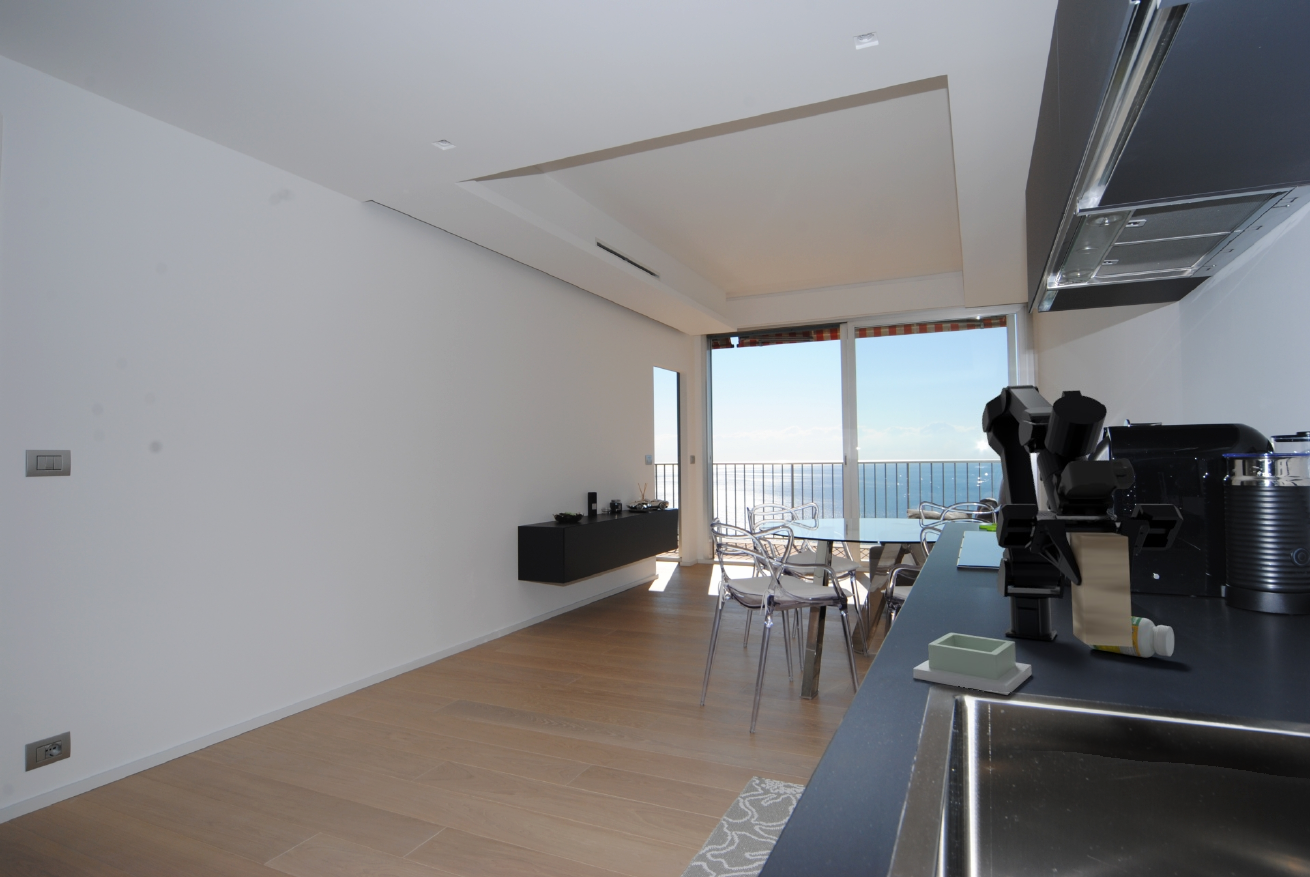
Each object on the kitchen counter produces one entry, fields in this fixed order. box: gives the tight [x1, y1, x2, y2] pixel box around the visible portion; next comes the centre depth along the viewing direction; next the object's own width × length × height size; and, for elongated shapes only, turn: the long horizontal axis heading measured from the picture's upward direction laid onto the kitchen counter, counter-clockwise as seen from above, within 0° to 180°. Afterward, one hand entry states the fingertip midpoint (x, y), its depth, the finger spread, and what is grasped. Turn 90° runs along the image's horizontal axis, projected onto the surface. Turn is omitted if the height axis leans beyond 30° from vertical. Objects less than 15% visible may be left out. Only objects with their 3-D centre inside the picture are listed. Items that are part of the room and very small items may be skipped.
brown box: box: [1069, 533, 1133, 647], centre depth 79 cm, size 4×4×12 cm
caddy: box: [912, 632, 1033, 693], centre depth 88 cm, size 11×11×4 cm
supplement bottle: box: [1088, 615, 1175, 659], centre depth 97 cm, size 5×5×10 cm
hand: (1103, 584), depth 77 cm, fingers closed on brown box, 4 cm apart
